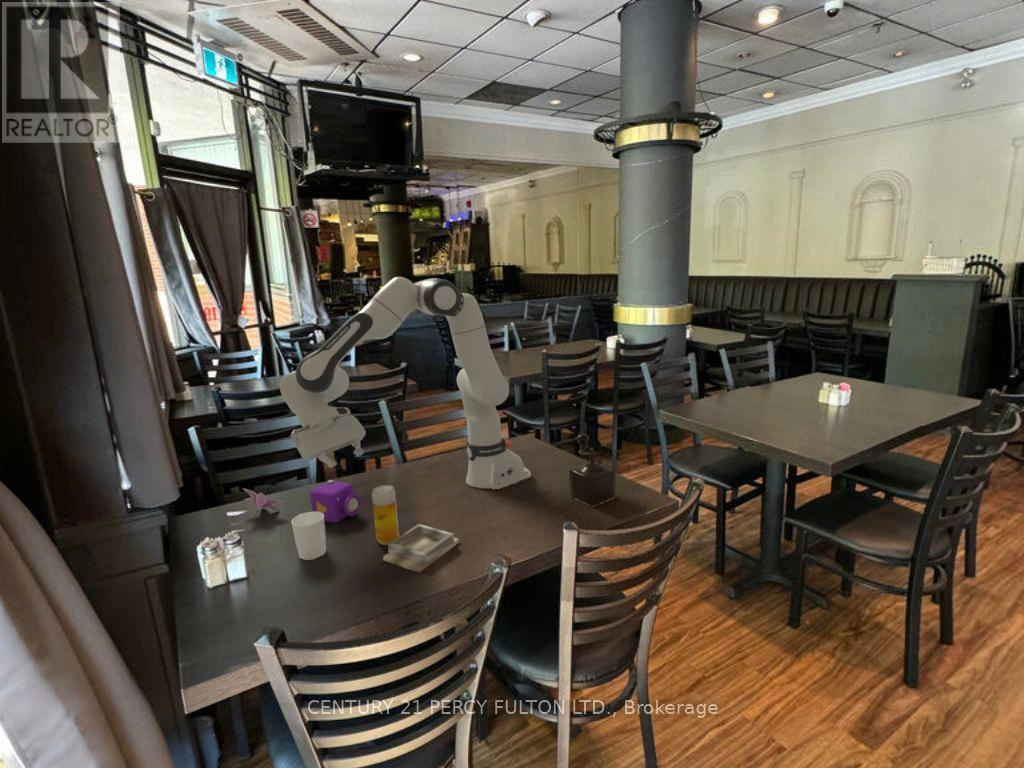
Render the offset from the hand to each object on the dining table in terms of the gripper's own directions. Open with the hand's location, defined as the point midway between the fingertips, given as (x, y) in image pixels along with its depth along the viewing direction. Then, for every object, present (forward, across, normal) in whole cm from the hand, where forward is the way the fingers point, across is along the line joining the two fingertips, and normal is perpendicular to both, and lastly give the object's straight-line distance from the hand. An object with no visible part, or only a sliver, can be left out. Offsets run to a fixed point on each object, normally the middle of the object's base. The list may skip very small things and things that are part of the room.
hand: (347, 460), depth 144 cm
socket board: (+32, 0, -3) cm, 32 cm away
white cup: (+15, -14, +16) cm, 25 cm away
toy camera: (+7, +4, +23) cm, 24 cm away
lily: (-8, -6, +38) cm, 40 cm away
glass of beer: (+24, 0, +6) cm, 25 cm away
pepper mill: (+50, +50, -21) cm, 74 cm away
